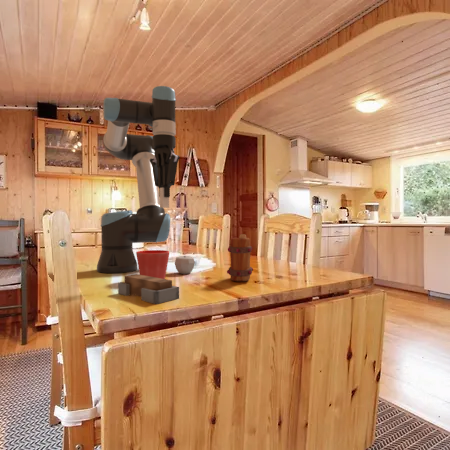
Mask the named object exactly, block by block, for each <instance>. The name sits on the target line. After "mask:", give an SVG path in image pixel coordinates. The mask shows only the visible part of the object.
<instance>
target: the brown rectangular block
mask: <svg viewBox="0 0 450 450" xmlns="http://www.w3.org/2000/svg"><path fill="white" fill-rule="evenodd" d="M124 283H127V284H129V291H130V295H132V296H135V295H136V296H137V297H139V298H141V289H142V288H147V289H151V290H155V291H158V290H163V289H167V288H172V286H173V280H171V279H167V278H165V279H162V278H156V277H150V276H144V275H140V273H138V274H137V273H135V274H128V275H124ZM136 296H135V297H136Z"/></svg>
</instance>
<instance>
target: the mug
mask: <svg viewBox="0 0 450 450" xmlns="http://www.w3.org/2000/svg"><path fill="white" fill-rule="evenodd" d="M252 250H253V246H251V238H250V237H247V235H246V234H243V233H241V234H239V237H231V238H230V246H229V247H228V248H227V251H228V252H229V253H230V267H229V268H228V269H227V270H226V274H228V275H229V276H230V280H231V281H233V282H239V283H241V282H242V283H243V282H247V281H250V278H251V275H252V274H253V271H254V268H253V267H252V266H251V252H252Z"/></svg>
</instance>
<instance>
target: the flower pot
mask: <svg viewBox="0 0 450 450" xmlns="http://www.w3.org/2000/svg"><path fill="white" fill-rule="evenodd" d="M135 254H136V262H137V268H138V272H139V273H138V274H139V275H144V276H150V277H156V278H162V279H166V274H167V270H168V264H169V263H168V262H169V258H170V257H169V256H170V251H169V250H163V249H160V250H159V249H153V250H152V249H151V250H150V249H149V250H147V249H146V250H138V251H136V252H135Z"/></svg>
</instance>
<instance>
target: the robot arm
mask: <svg viewBox="0 0 450 450" xmlns="http://www.w3.org/2000/svg"><path fill="white" fill-rule="evenodd" d="M151 91H152V94H151V99H152V100H151V102H149V101H141V100H131V99H127V98H126V99H124V98H119V97H105V98H104V99H103V119H104V120H105V121H107V125H106V126H107V127H106V132H105V133H104V135H103V139H102V143H103V145H104V148H105V150H106V151H107V152H108V153H109V154H110V155H112V156H113V157H115V158H117V159H120V160H123V161H124V160H125V161H131V163H132V165H133V166H134V167H135V169H136V170H135V171H136V180H137V192H138V204H139V208H138V209H137V210H136V213H133V211H132V210H122V211H115V212H106V213H103V214H102V216H101V218H100V219H101V220H100V222H101V223H100V227H101V232H100V233H101V235H100V236H101V251H100V256H99V258H98V261H97V265H96V272H98V273H104V274H122V273H123V274H124V273H129V272H133V271H137V270H138V261H137V258H136V256H135V253H134V250H133V247H134V246H133V244H138V243H140V244H141V243H144V244H145V243H156V244H157V243H161V242H162V243H163V242H166V241H167V240H168V238H169V236H170V232H171V231H170V229H171V215H170V214H169V213H167V212H166V210H165V209H166V208H167V209H168V208H170V196H171V187H172V186H174V185H175V183H176V175H177V169H178V163H179V160H180V157H181V156H180V155H179V154H178V155H177V154H175V150H174V149H175V148H176V147H177V145H176V142H177V141H176V139H177V138H176V137H175V136H176V135H177V131H176V130H177V127H176V126H177V125H176V124H177V123H176V101H177V99H176V91H175V90H174V88H172V87H170V86H166V85H158V86H154V87H153V88H152V90H151ZM130 124H137V125H148V126H150V127H152V135H153V136H152V135H148V134H146V135H144V134H143V135H141V134H133V133H132V134H131V133H128V131H129V128H130Z"/></svg>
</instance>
